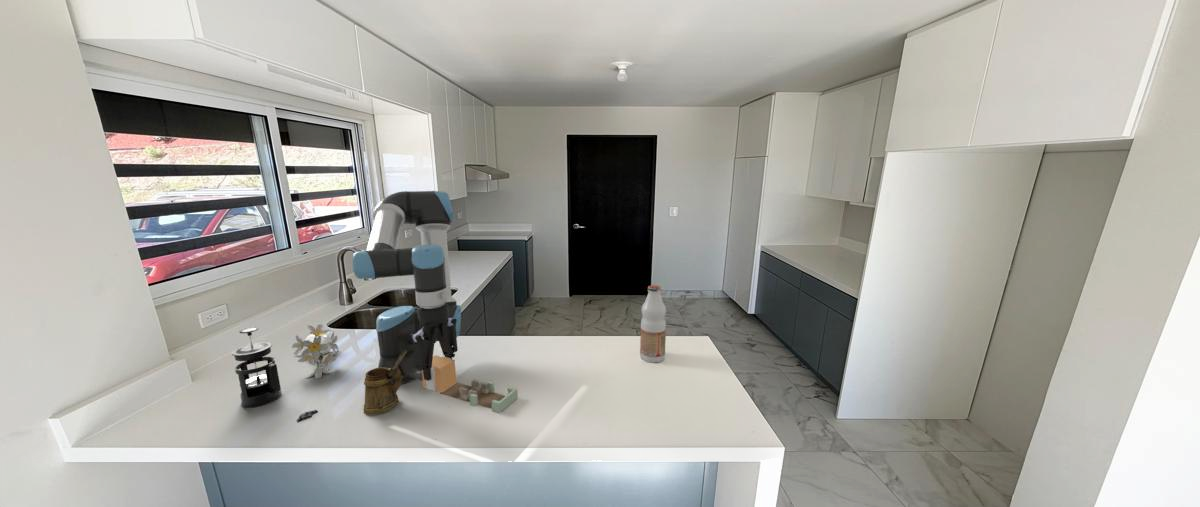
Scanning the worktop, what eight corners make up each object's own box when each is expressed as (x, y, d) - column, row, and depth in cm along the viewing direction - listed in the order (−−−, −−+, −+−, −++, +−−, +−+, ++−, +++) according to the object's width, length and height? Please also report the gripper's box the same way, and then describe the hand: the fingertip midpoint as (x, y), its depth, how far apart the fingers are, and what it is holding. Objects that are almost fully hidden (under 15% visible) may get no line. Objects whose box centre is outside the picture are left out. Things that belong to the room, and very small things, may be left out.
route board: (440, 396, 118) (438, 383, 117) (456, 385, 124) (455, 373, 124) (502, 414, 109) (501, 401, 108) (516, 402, 115) (516, 389, 114)
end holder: (470, 404, 112) (469, 395, 112) (489, 389, 120) (489, 381, 119) (499, 413, 108) (499, 403, 107) (517, 397, 116) (517, 388, 115)
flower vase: (309, 373, 146) (302, 385, 125) (292, 328, 144) (282, 334, 123) (348, 358, 153) (347, 367, 132) (332, 315, 151) (329, 318, 130)
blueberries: (329, 413, 111) (329, 407, 111) (302, 428, 103) (302, 421, 103) (311, 410, 113) (310, 404, 112) (283, 425, 105) (282, 418, 105)
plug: (405, 381, 106) (402, 358, 105) (419, 372, 110) (417, 350, 109) (442, 392, 101) (440, 368, 99) (456, 383, 105) (454, 360, 104)
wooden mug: (405, 414, 109) (399, 356, 106) (357, 416, 108) (349, 358, 105) (418, 396, 118) (412, 343, 114) (373, 398, 117) (366, 344, 114)
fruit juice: (644, 364, 138) (646, 291, 133) (636, 353, 147) (638, 284, 142) (668, 361, 140) (671, 289, 135) (659, 350, 149) (661, 282, 144)
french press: (230, 406, 113) (215, 334, 108) (262, 389, 122) (249, 322, 118) (264, 409, 111) (250, 336, 107) (294, 392, 120) (282, 324, 116)
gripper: (414, 317, 90) (423, 405, 95) (468, 295, 106) (473, 371, 111) (391, 313, 93) (401, 398, 97) (447, 292, 109) (453, 366, 114)
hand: (439, 383), depth 104 cm, fingers closed on plug, 5 cm apart
